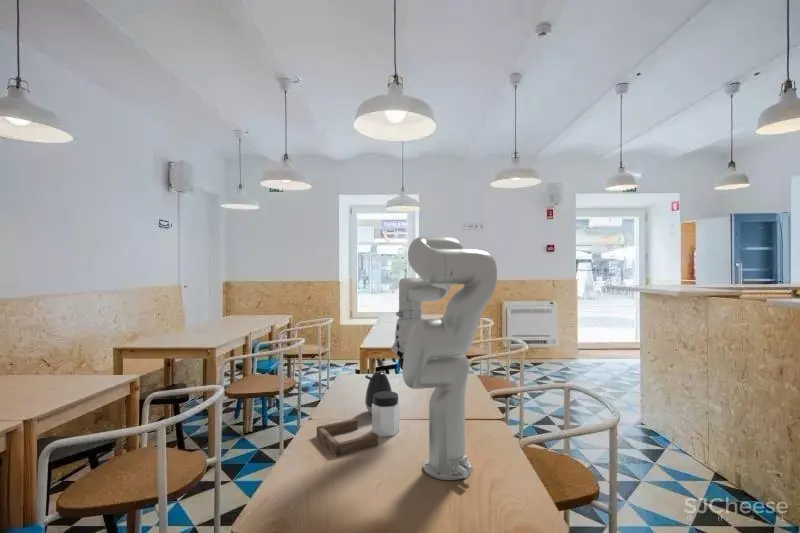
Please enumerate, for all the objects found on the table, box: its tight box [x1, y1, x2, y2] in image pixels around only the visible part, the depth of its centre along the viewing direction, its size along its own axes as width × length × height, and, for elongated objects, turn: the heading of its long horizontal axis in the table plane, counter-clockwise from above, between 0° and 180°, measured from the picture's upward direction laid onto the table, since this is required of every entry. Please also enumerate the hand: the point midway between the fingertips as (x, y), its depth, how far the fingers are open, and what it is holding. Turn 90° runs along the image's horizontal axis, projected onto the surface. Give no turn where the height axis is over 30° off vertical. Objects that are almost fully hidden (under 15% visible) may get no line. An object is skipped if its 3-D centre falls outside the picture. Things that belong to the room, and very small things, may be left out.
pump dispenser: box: [364, 370, 393, 415], centre depth 151 cm, size 10×10×15 cm
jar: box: [371, 391, 400, 438], centre depth 134 cm, size 9×8×12 cm
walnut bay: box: [316, 418, 379, 457], centre depth 127 cm, size 16×14×3 cm
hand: (410, 368), depth 139 cm, fingers open, 4 cm apart
